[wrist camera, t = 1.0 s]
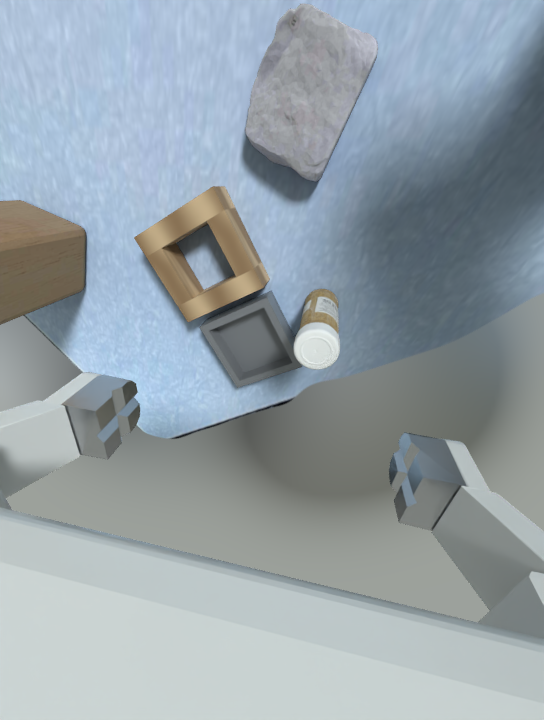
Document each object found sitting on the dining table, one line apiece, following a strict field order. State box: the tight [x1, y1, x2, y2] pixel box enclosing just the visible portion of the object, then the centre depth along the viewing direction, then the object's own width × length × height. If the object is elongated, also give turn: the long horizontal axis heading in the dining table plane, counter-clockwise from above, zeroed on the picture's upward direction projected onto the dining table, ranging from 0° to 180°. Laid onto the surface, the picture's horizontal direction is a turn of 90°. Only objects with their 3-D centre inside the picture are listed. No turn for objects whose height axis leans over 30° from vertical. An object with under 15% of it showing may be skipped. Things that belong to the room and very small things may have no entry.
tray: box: [200, 291, 302, 388], centre depth 43 cm, size 11×11×3 cm
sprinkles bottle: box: [294, 289, 340, 369], centre depth 35 cm, size 5×5×13 cm
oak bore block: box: [134, 187, 270, 322], centre depth 38 cm, size 12×12×4 cm
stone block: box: [245, 4, 378, 182], centre depth 29 cm, size 12×5×10 cm
